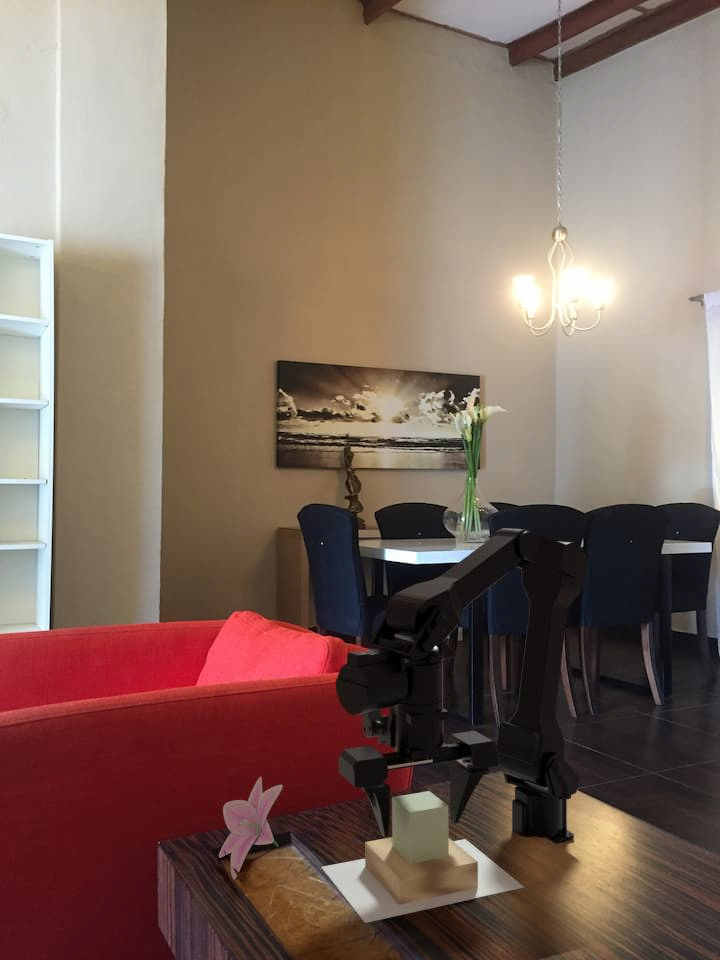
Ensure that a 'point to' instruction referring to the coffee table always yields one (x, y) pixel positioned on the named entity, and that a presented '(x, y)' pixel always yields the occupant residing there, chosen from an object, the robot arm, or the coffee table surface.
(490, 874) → the white rectangular plate
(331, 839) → the coffee table surface
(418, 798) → the top block
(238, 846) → the lily
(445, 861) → the base block
